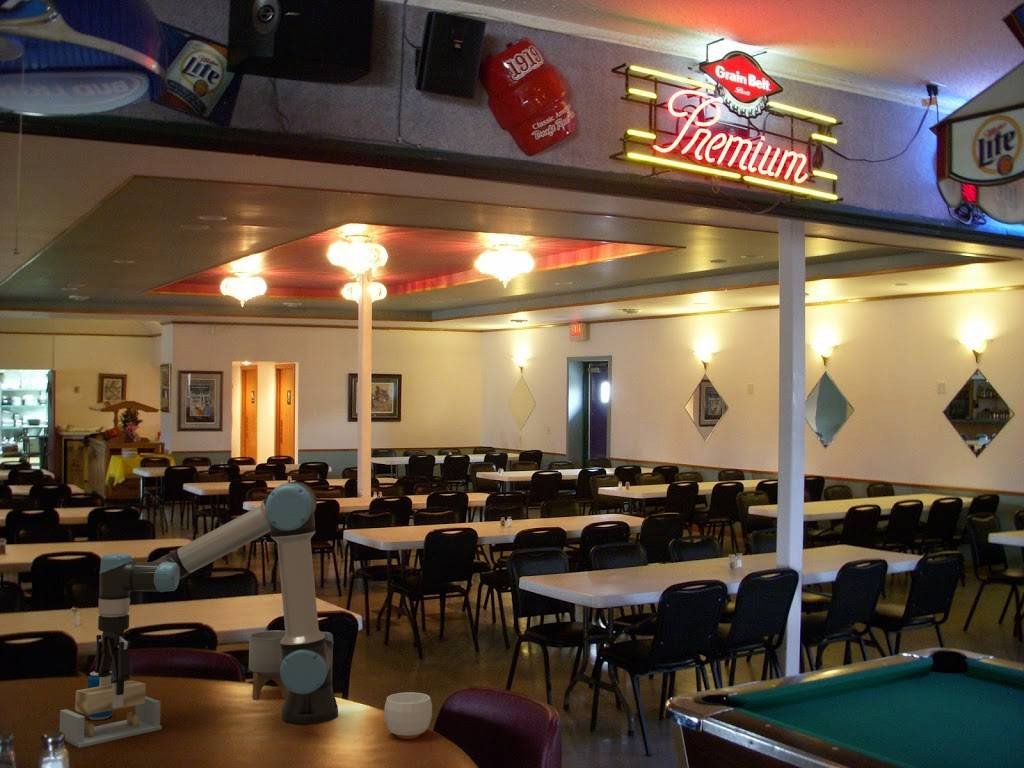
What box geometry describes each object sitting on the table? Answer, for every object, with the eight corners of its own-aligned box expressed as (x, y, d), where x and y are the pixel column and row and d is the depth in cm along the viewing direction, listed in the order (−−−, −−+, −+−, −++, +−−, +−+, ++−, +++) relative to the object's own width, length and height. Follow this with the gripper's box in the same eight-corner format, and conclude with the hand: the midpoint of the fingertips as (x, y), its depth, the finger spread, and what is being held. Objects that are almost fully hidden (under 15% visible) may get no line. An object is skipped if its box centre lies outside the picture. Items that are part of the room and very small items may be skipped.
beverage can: (117, 715, 282) (118, 671, 283) (101, 721, 276) (102, 676, 276) (98, 713, 284) (99, 669, 285) (81, 719, 278) (82, 674, 279)
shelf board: (144, 703, 270) (145, 684, 271) (87, 714, 258) (88, 694, 258) (131, 699, 274) (132, 680, 274) (74, 710, 261) (75, 690, 262)
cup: (412, 745, 258) (412, 706, 259) (374, 737, 265) (374, 699, 265) (441, 733, 269) (441, 696, 269) (403, 726, 275) (404, 689, 276)
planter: (270, 703, 296) (271, 640, 297) (238, 696, 303) (240, 635, 304) (302, 693, 307) (303, 633, 308) (270, 687, 314) (272, 628, 315)
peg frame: (161, 729, 270) (162, 702, 270) (79, 747, 253) (80, 718, 254) (138, 720, 278) (139, 693, 278) (57, 737, 261) (58, 709, 262)
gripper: (146, 617, 263) (143, 709, 262) (110, 607, 276) (107, 695, 275) (118, 621, 258) (115, 714, 257) (82, 611, 271) (79, 700, 270)
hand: (111, 704), depth 266 cm, fingers closed on shelf board, 6 cm apart
